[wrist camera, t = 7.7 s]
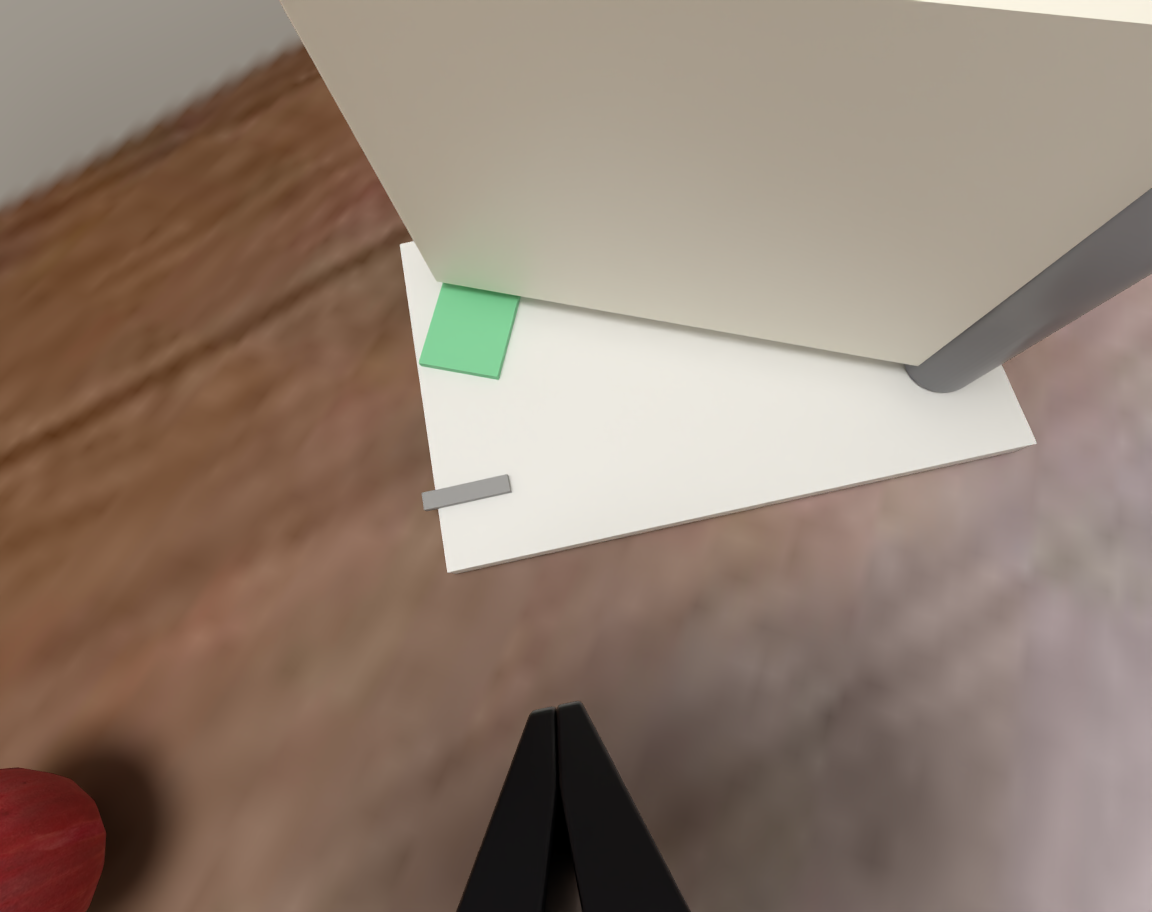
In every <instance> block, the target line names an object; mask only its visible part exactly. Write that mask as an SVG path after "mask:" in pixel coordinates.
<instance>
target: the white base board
mask: <svg viewBox="0 0 1152 912" xmlns="http://www.w3.org/2000/svg"><path fill="white" fill-rule="evenodd" d="M400 249H401V256H402V262H403V269H404V276H405V283H406V290H407V297H408V304H409V311H410V318H411V324H412V331H413V338H414V345H415V352H416V359H417V366H418V373H419V380H420V386H421V393H422V400H423V407H424V414H425V421H426V428H427V435H428V442H429V449H430V455H431V462H432V469H433V476H434V483H435V490H433V491H428V492H424V493H422V499H423V506H424V510H425V511H430V510H435V509H438V511H439V517H440V524H441V531H442V538H443V545H444V552H445V559H446V566H447V572H448V573H454V574H457V573H462V572H466V571H471V570H475V569H480V568H484V567H489V566H494V565H498V564H503V563H507V562H512V561H516V560H521V559H526V558H530V557H535V556H539V555H544V554H548V553H553V552H558V551H562V550H567V549H571V548H576V547H580V546H585V545H589V544H594V543H599V542H603V541H608V540H612V539H617V538H621V537H626V536H631V535H635V534H640V533H644V532H649V531H653V530H658V529H663V528H667V527H672V526H676V525H681V524H685V523H690V522H695V521H699V520H704V519H708V518H713V517H717V516H722V515H727V514H731V513H736V512H740V511H745V510H749V509H754V508H759V507H763V506H768V505H772V504H777V503H781V502H786V501H791V500H795V499H800V498H804V497H809V496H813V495H818V494H823V493H827V492H832V491H836V490H841V489H845V488H850V487H854V486H859V485H864V484H868V483H873V482H877V481H882V480H886V479H891V478H896V477H900V476H905V475H909V474H914V473H918V472H923V471H928V470H932V469H937V468H941V467H946V466H950V465H955V464H960V463H964V462H969V461H973V460H978V459H982V458H987V457H992V456H996V455H1001V454H1005V453H1010V452H1014V451H1018V450H1020V449H1023V448H1026V447H1029V446H1031V445H1034V444H1037V442H1036V440H1035V438H1034V436H1033V433H1032V431H1031V429H1030V427H1029V425H1028V422H1027V420H1026V418H1025V416H1024V413H1023V411H1022V409H1021V407H1020V405H1019V402H1018V400H1017V398H1016V396H1015V393H1014V391H1013V389H1012V387H1011V385H1010V382H1009V380H1008V378H1007V376H1006V373H1005V371H1004V369H1003V367H1002V365H1000V366H998V367H996V368H995V369H993V370H991V371H990V372H988V373H986V374H985V375H983V376H981V377H980V378H978V379H976V380H975V381H973V382H972V383H970V384H968V385H967V386H965V387H963V388H961V389H960V390H957V391H954V392H948V393H940V392H934V391H931V390H928V389H926V388H924V387H922V386H920V385H919V384H917V383H916V382H915V381H914V380H913V379H912V378H911V377H910V375H909V374H908V372H907V371H906V368H905V366H904V364H902V363H897V362H891V361H885V360H880V359H874V358H868V357H863V356H857V355H851V354H846V353H840V352H834V351H829V350H823V349H817V348H812V347H806V346H800V345H795V344H789V343H783V342H778V341H772V340H766V339H761V338H755V337H749V336H744V335H738V334H732V333H726V332H721V331H715V330H709V329H704V328H698V327H692V326H687V325H681V324H675V323H670V322H664V321H658V320H653V319H647V318H641V317H636V316H630V315H624V314H619V313H613V312H607V311H602V310H596V309H590V308H585V307H579V306H573V305H568V304H562V303H556V302H551V301H545V300H539V299H534V298H528V297H522V296H516V295H511V294H505V293H499V292H494V291H488V290H482V289H477V288H471V287H465V286H460V285H454V284H448V283H443V282H437V281H436V280H435V278H434V276H433V274H432V273H431V271H430V269H429V267H428V266H427V264H426V262H425V260H424V258H423V257H422V255H421V253H420V251H419V249H418V248H417V246H416V244H415V242H414V241H413V242H409V243H404V244H400Z"/></svg>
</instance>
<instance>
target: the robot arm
mask: <svg viewBox="0 0 1152 912" xmlns="http://www.w3.org/2000/svg"><path fill="white" fill-rule="evenodd" d="M456 912H691V911H690V909H689V907H688V905H687V903H686V901H685V900H684V898H683V896H682V894H681V892H680V890H679V888H678V886H677V884H676V882H675V880H674V878H673V876H672V875H671V873H670V871H669V869H668V867H667V865H666V863H665V861H664V859H663V857H662V855H661V853H660V851H659V850H658V848H657V846H656V844H655V842H654V840H653V838H652V836H651V834H650V832H649V830H648V828H647V826H646V825H645V823H644V821H643V819H642V817H641V815H640V813H639V811H638V809H637V807H636V805H635V803H634V801H633V800H632V798H631V796H630V794H629V792H628V790H627V788H626V786H625V784H624V782H623V780H622V778H621V777H620V775H619V773H618V771H617V769H616V767H615V765H614V763H613V761H612V759H611V757H610V755H609V753H608V752H607V750H606V748H605V746H604V744H603V742H602V740H601V738H600V736H599V734H598V732H597V730H596V728H595V727H594V725H593V723H592V721H591V719H590V717H589V715H588V713H587V711H586V709H585V707H584V706H583V704H582V703H581V702H580V701H575V702H570V703H566V704H561V705H559V706H558V707H557V709H556V708H555V707H547V708H543V709H538V710H534V711H532V712H531V713H530V715H529V717H528V720H527V722H526V725H525V728H524V730H523V733H522V736H521V738H520V741H519V744H518V747H517V749H516V752H515V755H514V757H513V760H512V763H511V765H510V768H509V771H508V774H507V776H506V779H505V782H504V784H503V787H502V790H501V792H500V795H499V798H498V800H497V803H496V806H495V809H494V811H493V814H492V817H491V819H490V822H489V825H488V827H487V830H486V833H485V836H484V838H483V841H482V844H481V846H480V849H479V852H478V854H477V857H476V860H475V862H474V865H473V868H472V871H471V873H470V876H469V879H468V881H467V884H466V887H465V889H464V892H463V895H462V898H461V900H460V903H459V906H458V908H457V911H456Z"/></svg>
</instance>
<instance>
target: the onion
mask: <svg viewBox="0 0 1152 912" xmlns="http://www.w3.org/2000/svg"><path fill="white" fill-rule="evenodd" d="M105 845H106V831H105V828H104V825H103V822H102V819H101V817H100V814H99V811H98V808H97V806H96V803H95V801H94V800H93V799H92V798H91V797H90V796H89V795H88V794H87V793H86V792H85V791H84V790H83V789H82V788H80V787H79V786H78V785H77V784H76V783H75V782H74V781H73V780H72V779H70V778H66V777H63V776H59V775H56V774H53V773H47V772H41V771H35V770H30V769H24V768H6V769H0V912H86V910H87V909H88V907H89V906H90V903H91V900H92V898H93V895H94V892H95V889H96V887H97V884H98V881H99V879H100V876H101V873H102V870H103V866H104V861H105Z"/></svg>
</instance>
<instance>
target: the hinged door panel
mask: <svg viewBox="0 0 1152 912" xmlns="http://www.w3.org/2000/svg"><path fill="white" fill-rule="evenodd" d="M279 2H280V3H281V5H282V7H283V9H284V11H285V12H286V14H287V16H288V18H289V19H290V21H291V23H292V25H293V27H294V28H295V30H296V32H297V34H298V35H299V37H300V39H301V41H302V43H303V44H304V46H305V48H306V50H307V52H308V53H309V55H310V57H311V59H312V60H313V62H314V64H315V66H316V68H317V69H318V71H319V73H320V75H321V77H322V78H323V80H324V82H325V84H326V85H327V87H328V89H329V91H330V93H331V94H332V96H333V98H334V100H335V101H336V103H337V105H338V107H339V109H340V110H341V112H342V114H343V116H344V118H345V119H346V121H347V123H348V125H349V126H350V128H351V130H352V132H353V134H354V135H355V137H356V139H357V141H358V143H359V144H360V146H361V148H362V150H363V151H364V153H365V155H366V157H367V159H368V160H369V162H370V164H371V166H372V167H373V169H374V171H375V173H376V175H377V176H378V178H379V180H380V182H381V184H382V185H383V187H384V189H385V191H386V192H387V194H388V196H389V198H390V200H391V201H392V203H393V205H394V207H395V208H396V210H397V212H398V214H399V216H400V217H401V219H402V221H403V223H404V225H405V226H406V228H407V230H408V232H409V233H410V235H411V237H412V239H413V241H414V242H415V244H416V246H417V248H418V249H419V251H420V253H421V255H422V257H423V258H424V260H425V262H426V264H427V266H428V267H429V269H430V271H431V273H432V274H433V276H434V278H435V280H436V281H437V282H443V283H448V284H454V285H460V286H465V287H471V288H477V289H482V290H488V291H494V292H499V293H505V294H511V295H516V296H522V297H528V298H534V299H539V300H545V301H551V302H556V303H562V304H568V305H573V306H579V307H585V308H590V309H596V310H602V311H607V312H613V313H619V314H624V315H630V316H636V317H641V318H647V319H653V320H658V321H664V322H670V323H675V324H681V325H687V326H692V327H698V328H704V329H709V330H715V331H721V332H726V333H732V334H738V335H744V336H749V337H755V338H761V339H766V340H772V341H778V342H783V343H789V344H795V345H800V346H806V347H812V348H817V349H823V350H829V351H834V352H840V353H846V354H851V355H857V356H863V357H868V358H874V359H880V360H885V361H891V362H897V363H902V364H904V366H905V368H906V371H907V372H908V374H909V375H910V377H911V378H912V379H913V380H914V381H915V382H916V383H917V384H919V385H920V386H922V387H924V388H926V389H928V390H931V391H934V392H940V393H948V392H954V391H957V390H960V389H961V388H963V387H965V386H967V385H968V384H970V383H972V382H973V381H975V380H976V379H978V378H980V377H981V376H983V375H985V374H986V373H988V372H990V371H991V370H993V369H995V368H996V367H998V366H1000V365H1001V364H1003V363H1005V362H1006V361H1008V360H1010V359H1011V358H1013V357H1015V356H1016V355H1018V354H1020V353H1021V352H1023V351H1025V350H1026V349H1028V348H1029V347H1031V346H1033V345H1034V344H1036V343H1038V342H1039V341H1041V340H1043V339H1044V338H1046V337H1048V336H1049V335H1051V334H1053V333H1054V332H1056V331H1058V330H1059V329H1061V328H1063V327H1064V326H1066V325H1068V324H1069V323H1071V322H1073V321H1074V320H1076V319H1078V318H1079V317H1081V316H1083V315H1084V314H1086V313H1087V312H1089V311H1091V310H1092V309H1094V308H1096V307H1097V306H1099V305H1101V304H1102V303H1104V302H1106V301H1107V300H1109V299H1111V298H1112V297H1114V296H1116V295H1117V294H1119V293H1121V292H1122V291H1124V290H1126V289H1127V288H1129V287H1131V286H1132V285H1134V284H1136V283H1137V282H1139V281H1140V280H1142V279H1144V278H1145V277H1147V276H1149V275H1150V274H1152V0H279Z"/></svg>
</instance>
